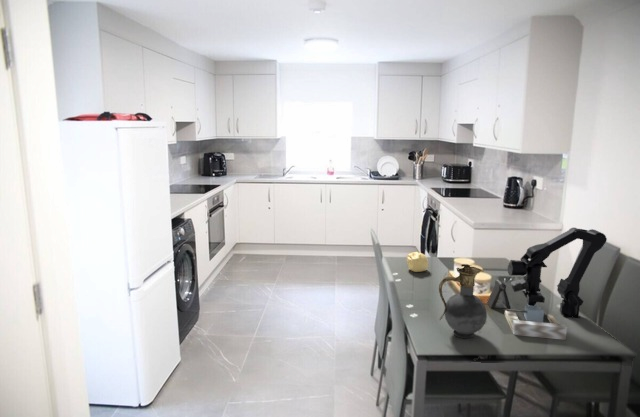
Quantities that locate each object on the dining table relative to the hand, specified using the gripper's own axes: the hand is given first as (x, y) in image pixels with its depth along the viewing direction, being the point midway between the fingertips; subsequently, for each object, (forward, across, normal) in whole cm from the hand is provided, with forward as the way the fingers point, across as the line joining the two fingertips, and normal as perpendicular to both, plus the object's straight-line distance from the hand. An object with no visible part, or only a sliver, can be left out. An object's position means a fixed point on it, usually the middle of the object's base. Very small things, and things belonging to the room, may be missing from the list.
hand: (529, 309), depth 191 cm
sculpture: (+2, -47, -50) cm, 68 cm away
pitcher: (+2, +28, -32) cm, 42 cm away
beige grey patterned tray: (+2, +13, -1) cm, 13 cm away
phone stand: (+2, -5, -12) cm, 13 cm away
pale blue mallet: (+2, +7, -4) cm, 8 cm away
